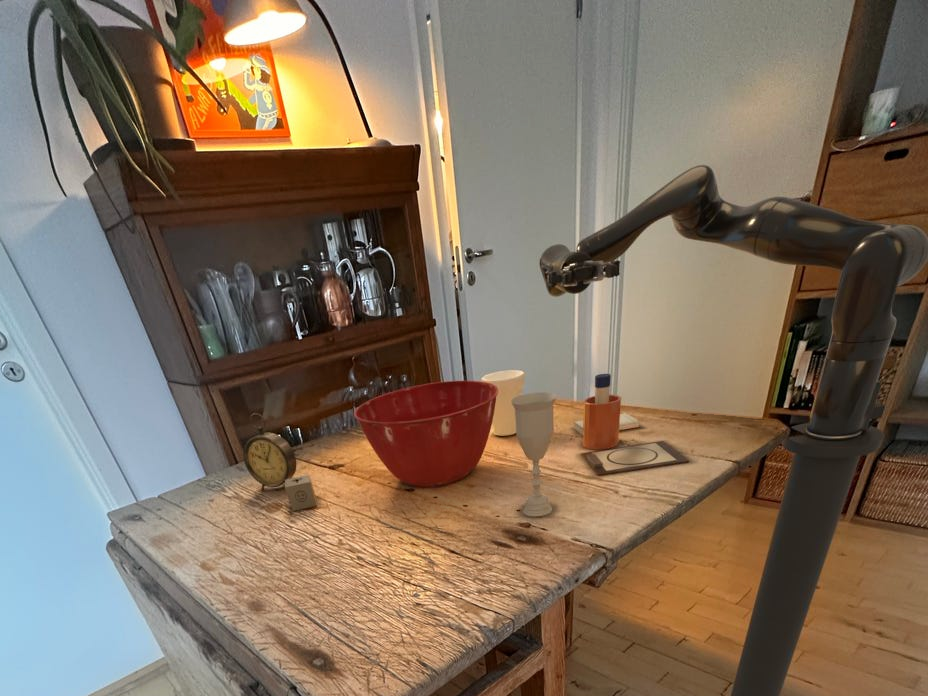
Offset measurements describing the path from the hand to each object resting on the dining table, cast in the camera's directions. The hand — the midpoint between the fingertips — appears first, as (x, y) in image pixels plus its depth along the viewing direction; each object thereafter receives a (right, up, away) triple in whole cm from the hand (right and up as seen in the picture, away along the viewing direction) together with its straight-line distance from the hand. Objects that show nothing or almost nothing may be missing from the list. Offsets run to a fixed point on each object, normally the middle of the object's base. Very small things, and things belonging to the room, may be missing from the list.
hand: (591, 274), depth 102 cm
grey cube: (-58, -44, +5) cm, 74 cm away
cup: (-14, -22, +25) cm, 36 cm away
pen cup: (+5, -30, +9) cm, 32 cm away
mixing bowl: (-31, -38, +8) cm, 49 cm away
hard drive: (+8, -23, +18) cm, 30 cm away
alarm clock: (-67, -38, +16) cm, 78 cm away
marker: (+5, -30, +9) cm, 31 cm away
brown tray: (+8, -36, 0) cm, 37 cm away
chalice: (-13, -50, -13) cm, 54 cm away
